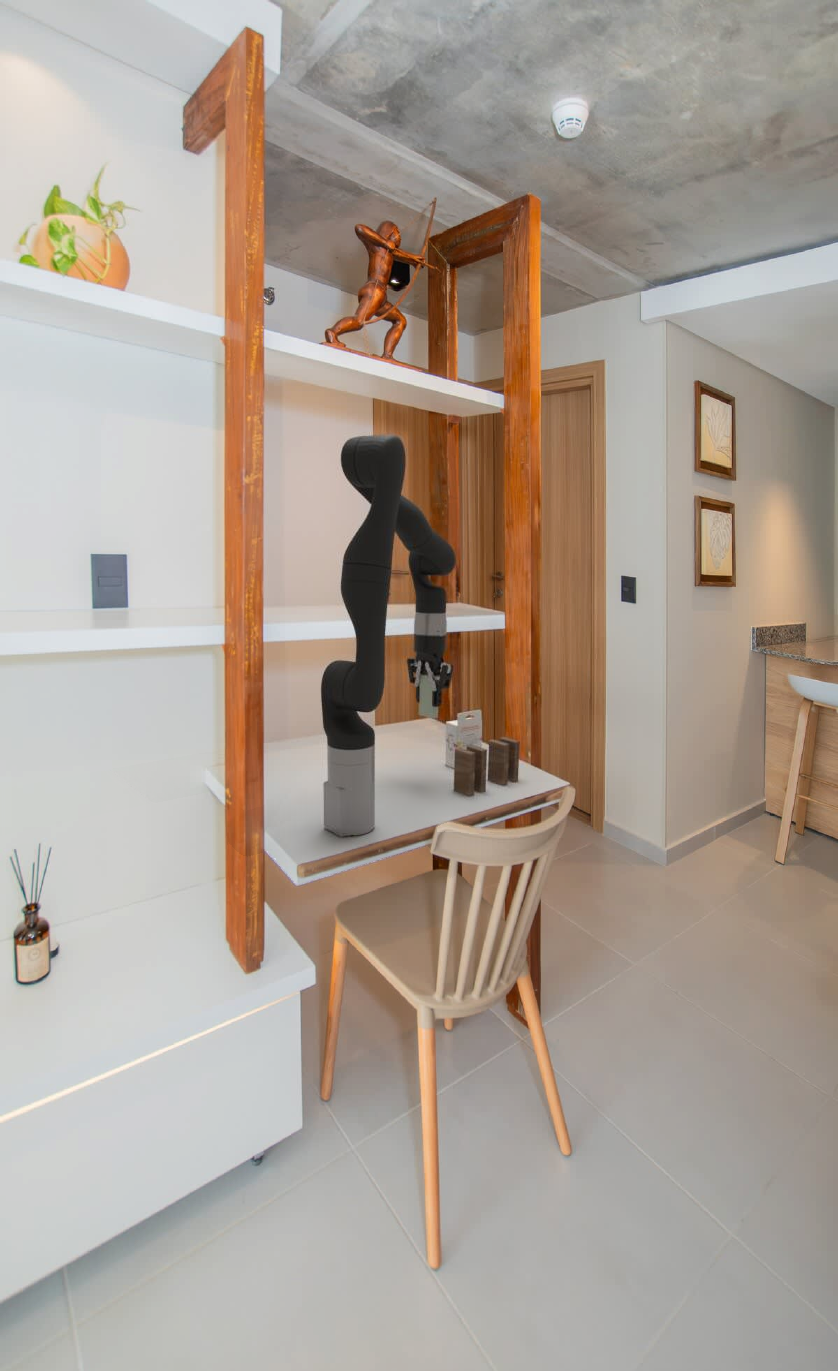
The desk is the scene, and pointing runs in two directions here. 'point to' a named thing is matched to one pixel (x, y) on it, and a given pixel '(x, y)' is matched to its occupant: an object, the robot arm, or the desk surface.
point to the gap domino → (427, 698)
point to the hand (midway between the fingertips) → (428, 704)
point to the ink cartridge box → (463, 734)
